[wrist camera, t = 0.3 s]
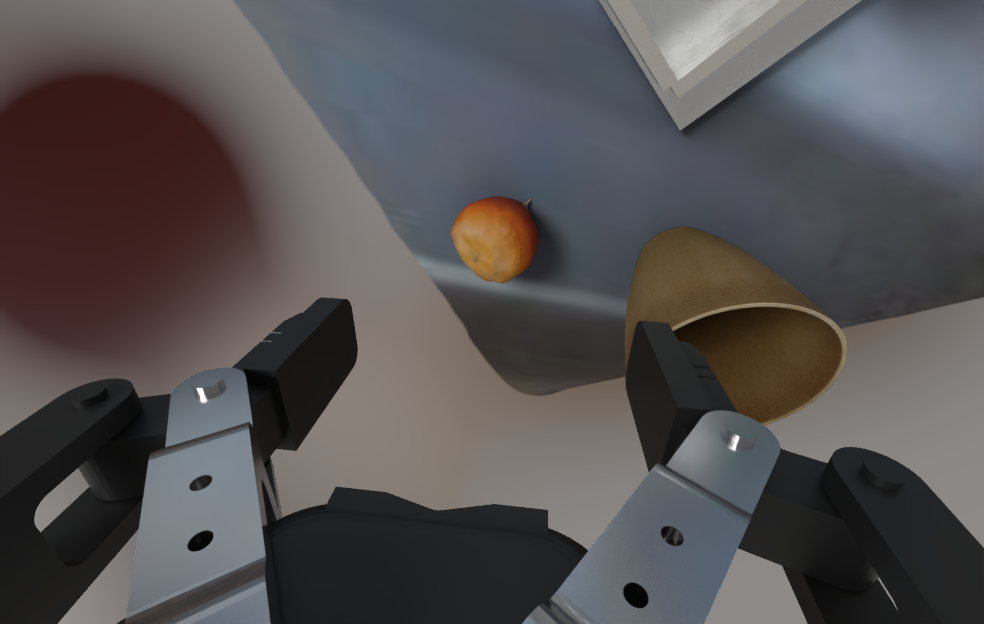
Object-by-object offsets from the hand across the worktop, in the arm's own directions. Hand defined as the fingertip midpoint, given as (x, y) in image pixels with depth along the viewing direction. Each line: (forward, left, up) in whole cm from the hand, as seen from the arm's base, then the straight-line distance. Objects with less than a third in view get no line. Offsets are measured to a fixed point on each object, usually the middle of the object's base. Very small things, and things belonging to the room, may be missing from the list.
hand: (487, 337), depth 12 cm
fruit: (+8, -10, -29) cm, 31 cm away
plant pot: (+23, +1, -29) cm, 37 cm away
